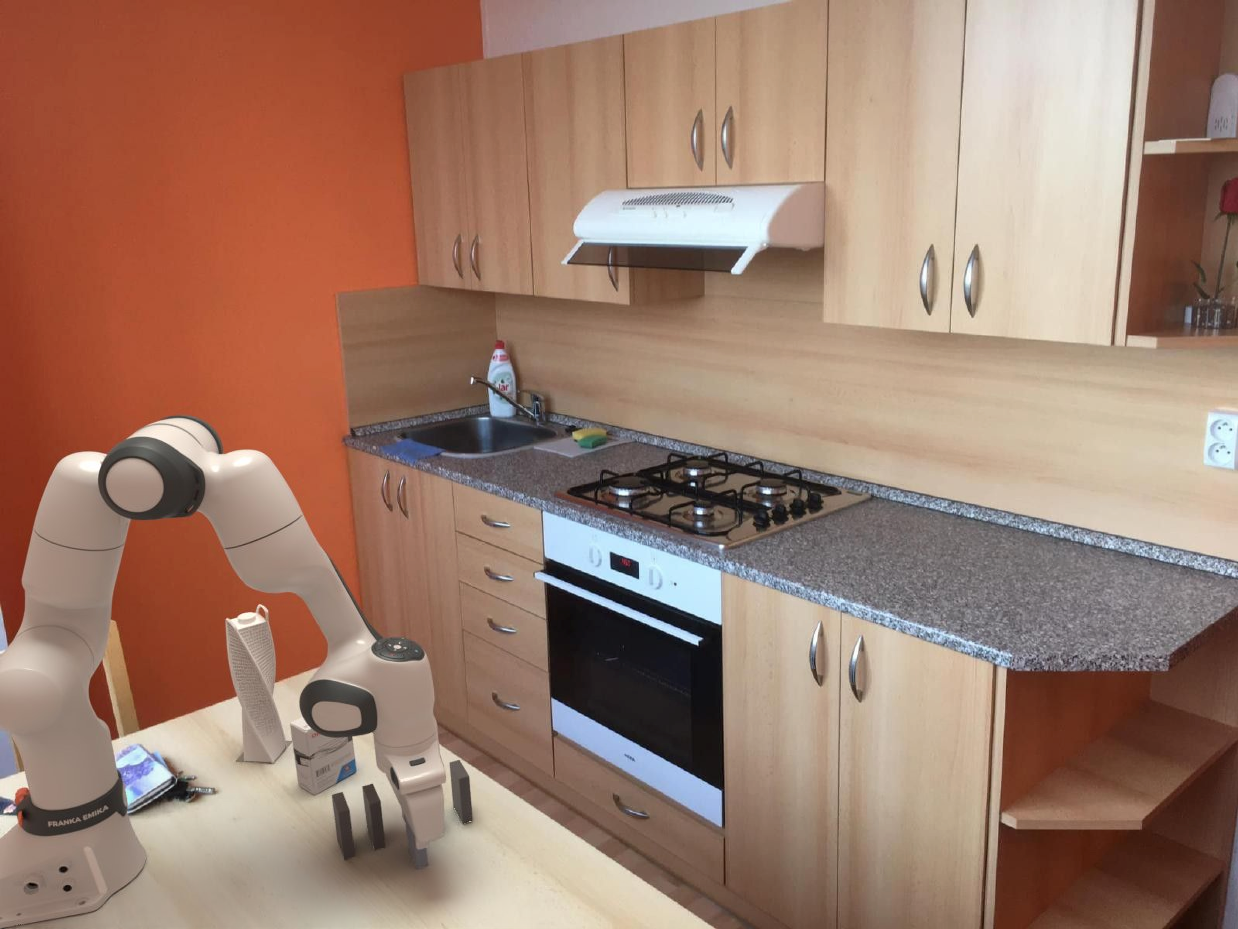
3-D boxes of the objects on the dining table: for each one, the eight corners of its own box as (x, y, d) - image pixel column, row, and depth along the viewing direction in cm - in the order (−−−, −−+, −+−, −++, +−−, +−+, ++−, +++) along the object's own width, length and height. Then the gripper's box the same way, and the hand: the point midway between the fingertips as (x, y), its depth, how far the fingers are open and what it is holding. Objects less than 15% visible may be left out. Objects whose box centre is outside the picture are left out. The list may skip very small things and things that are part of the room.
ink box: (339, 762, 176) (332, 700, 172) (358, 772, 173) (350, 709, 169) (296, 785, 170) (288, 721, 166) (314, 796, 166) (306, 731, 163)
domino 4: (462, 824, 158) (459, 779, 156) (453, 807, 163) (449, 762, 160) (472, 821, 159) (469, 776, 157) (463, 804, 163) (459, 759, 161)
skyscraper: (300, 743, 182) (280, 597, 175) (279, 769, 175) (257, 617, 167) (255, 741, 184) (234, 595, 176) (232, 766, 176) (209, 615, 168)
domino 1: (344, 860, 151) (338, 813, 149) (337, 841, 155) (331, 794, 153) (355, 857, 152) (349, 809, 149) (348, 838, 156) (342, 791, 154)
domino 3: (417, 869, 148) (412, 821, 146) (408, 849, 153) (403, 802, 151) (428, 865, 149) (423, 818, 147) (418, 846, 153) (414, 799, 151)
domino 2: (374, 851, 153) (369, 804, 150) (367, 832, 157) (362, 786, 155) (385, 847, 153) (380, 801, 151) (377, 829, 158) (372, 783, 155)
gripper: (368, 720, 154) (377, 801, 158) (403, 791, 136) (412, 880, 140) (410, 710, 156) (418, 789, 160) (449, 778, 138) (457, 866, 142)
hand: (415, 833), depth 150 cm, fingers open, 5 cm apart
